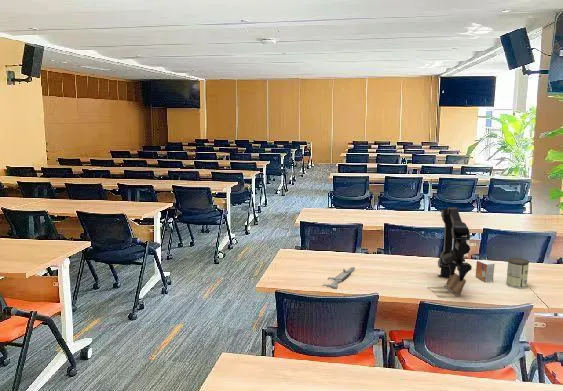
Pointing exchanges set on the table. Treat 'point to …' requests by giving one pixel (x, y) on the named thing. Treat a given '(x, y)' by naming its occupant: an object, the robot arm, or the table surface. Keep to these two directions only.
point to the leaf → (455, 284)
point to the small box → (485, 271)
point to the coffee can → (517, 272)
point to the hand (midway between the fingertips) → (456, 278)
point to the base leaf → (443, 292)
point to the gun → (339, 278)
